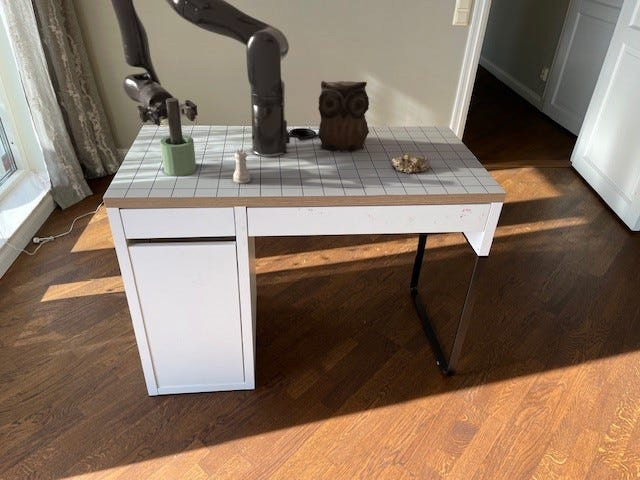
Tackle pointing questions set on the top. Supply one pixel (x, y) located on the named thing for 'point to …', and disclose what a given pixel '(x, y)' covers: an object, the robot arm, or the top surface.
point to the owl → (343, 115)
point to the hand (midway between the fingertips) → (176, 119)
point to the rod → (174, 121)
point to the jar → (178, 156)
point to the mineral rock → (410, 164)
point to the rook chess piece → (241, 168)
